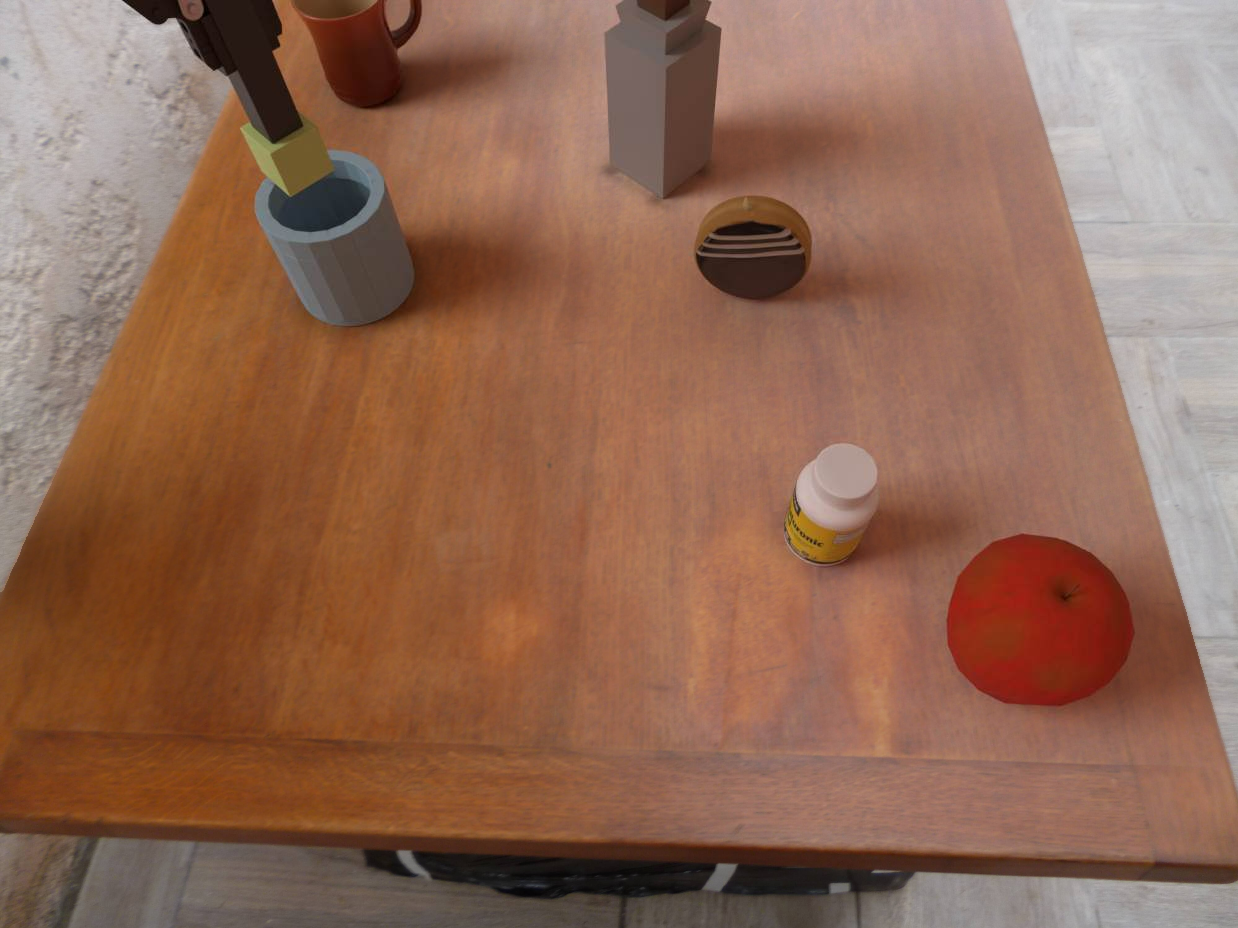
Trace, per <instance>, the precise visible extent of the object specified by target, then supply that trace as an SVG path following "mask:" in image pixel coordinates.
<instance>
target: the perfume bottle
mask: <svg viewBox="0 0 1238 928" xmlns="http://www.w3.org/2000/svg"><path fill="white" fill-rule="evenodd" d="M712 3H713V2H712V1H711V0H622V1H620V2H618V3H617V4H616V5H615V9H616V13H617V16H618V19H619V22H618V23H617V24H615V25H614V26H612V27H611V28H609V29H607V30H606V31H605V32H604V33H603V34H604V55H605V77H606V78H605V79H606V80H605V82H606V101H607V103H606V105H607V126H608V127H607V128H608V146H609V149H608V150H609V165H610V166H611V167H613V168H614V169H615V170H617V171H619V172H620V173H622V174H624V175H625V176H627V177H628V178H630V179H631V180H633V181H634V182H636V183H638V184H639V185H641V186H642V187H644V188H645V189H647V190H648V191H650V192H651V193H653V194H654V195H656V196H658V197H659V198H660V199H664V198H666V197H667V196H669V195H670V194H671V193H672V192H673V191H675V190H676V189H677V188H678V187H680V186H682V184H684V183H685V182H686V181H687V180H688V179H690V178H691V177H693V176H694V175H695V174H696V173H697V172H699V171H700V170H701V169H703V168H704V167H705V166H706V165H708V164H709V163H710V162H711V158H712V147H713V137H714V124H715V113H716V112H715V111H716V100H717V87H718V76H719V65H720V64H719V63H720V54H721V53H720V52H721V40H722V30H723V29H722V27H720V26H719V25H718V24H715V23H713V22H711V21H709V20H707V17H708V14H709V11H710V8H711V5H712Z"/></svg>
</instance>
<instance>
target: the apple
mask: <svg viewBox="0 0 1238 928" xmlns="http://www.w3.org/2000/svg"><path fill="white" fill-rule="evenodd" d="M1135 633H1136V631H1135V625H1134V620H1133V615H1132V610H1131V606H1130V601H1129V598H1128V595H1127V593H1126V591H1125V589H1124V588H1123V586H1122V585H1121V583H1120V582H1119V581H1118V579H1117V577H1116V576H1115V574H1114V572H1113V571H1112V570H1111V569H1110V568H1109V567H1108V566H1106V564H1104V563H1103V562H1102V561H1101V560H1100V559H1099V558H1097V556H1096V555H1094V554H1093V553H1092V552H1091V551H1089V550H1087V549H1085V548H1082V547H1081V546H1078V545H1077V544H1074V543H1072V542H1070V541H1068V540H1065V539H1061V538H1058V537H1054V536H1046V535H1037V534H1029V533H1019V534H1015V535H1012V536H1008V537H1005V538H1001V539H997V540H994V541H992V542H991V543H989V544H988V545H987V546H986V547H984V548H983V549H982V550H980V551H979V552H978V553H977V554H976V555H975V556H973V558H972V559H971V560H970V561H969V563H968V564H966V566H965V567H964V569H963V570H962V571H961V572H960V573H959V574H958V575H957V578H956V581H955V584H954V587H953V591H952V593H951V597H950V601H949V604H948V610H947V617H946V635H947V636H946V637H947V638H946V640H947V646H948V649H949V651H950V654H951V656H952V658H953V661H954V663H955V666H956V668H957V670H958V671H959V673H960V674H962V675H963V676H964V678H966V679H967V680H968V681H969V682H970V683H971V684H972V685H973V687H975V689H976V690H977V691H978V692H981V693H983V694H985V695H987V696H989V697H991V698H993V699H995V700H997V701H999V702H1001V703H1002V704H1005V705H1006V704H1009V705H1023V706H1042V707H1044V706H1045V707H1062V706H1066V705H1068V704H1071V703H1074V702H1077V701H1080V700H1082V699H1086V698H1088V697H1090V696H1093V694H1095V693H1097V692H1098V691H1100V690H1101V689H1103V688H1104V687H1105V686H1107V685H1108V684H1110V683H1111V682H1112V680H1113V679H1114V678H1115V676H1116V675H1117V674H1118V673H1119V671H1120V670H1121V668H1123V666H1124V665H1125V663H1126V662H1127V661H1128V659H1129V656H1130V652H1131V648H1132V644H1133V642H1134V638H1135Z"/></svg>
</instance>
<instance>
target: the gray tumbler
mask: <svg viewBox="0 0 1238 928" xmlns="http://www.w3.org/2000/svg"><path fill="white" fill-rule="evenodd" d="M326 150H327V152H328V155H329V157H330V160H331V162H332V165H333V167H334V171H332V172H331V173H329V174H328V175H326V176H324V177H323V178H321V179H320V180H318V181H316V182H315V183H313V184H311V185H310V186H308V187H307V188H305V189H303V190H302V191H300V192H299V193H297V194H295V195H294V196H292V197H290V196H289V195H288V194H286V193H285V192H284V191H283V190H282V189H281V188H280V187H279V186H277V185H276V184H275V183H274V182H273V181H272V180H271V179H270V178H268V177H267V176H266V177H265V178H264V180H262V182H261V184H260V186H259V188H258V190H257V191H256V194H255V197H254V199H255V200H254V214H255V216H256V218H257V221H258V223H259V225H260V227H261V229H262V231H263V232H264V234H265V236H266V238H267V240H268V242H269V244H270V246H271V248H272V250H273V251H274V254H275V255H276V257H277V259H278V261H279V262H280V265H281V266H282V268H283V270H284V272H285V274H286V276H287V277H288V279H289V281H290V283H291V285H292V287H293V288H294V291H295V292H296V294H297V297H298V298H299V301H300V302H301V303H302V305H303V306H304V308H305V309H306V311H307V312H308V313H309V314H310V315H311V316H312V317H314V318H315V319H317V320H318V321H320V322H323V323H325V324H328V325H332V326H337V327H357V326H358V327H359V326H364V325H367V324H371V323H374V322H377V321H380V320H381V319H384V318H386V317H387V316H389V315H391V314H392V313H393V312H395V311H396V310H397V309H398V308H399V307H400V306H402V305H403V303H405V301H406V300H407V298H408V297H409V295H410V293H411V291H412V289H413V286H414V282H415V274H416V273H415V267H414V265H413V264H414V263H413V260H412V256H411V253H410V250H409V247H408V245H407V242H406V239H405V236H404V233H403V229H402V227H401V224H400V222H399V219H398V215H397V212H396V208H395V206H394V204H393V200H392V197H391V195H390V192H389V189H388V186H387V183H386V179H385V177H384V176H383V173H382V172H381V170H380V169H379V167H378V166H377V164H375V163H374V162H372V161H371V160H370V159H369V158H367V157H366V156H363V155H362V154H358V153H355V152H353V151H348V150H339V149H326Z"/></svg>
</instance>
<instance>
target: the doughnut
mask: <svg viewBox="0 0 1238 928" xmlns="http://www.w3.org/2000/svg"><path fill="white" fill-rule="evenodd" d="M812 245H813V240H812V234H811V229H810V227H809V225H808V223H807V221H806V220H805V218H804V217H803V216H802V215H801V214H800V212H799V211H797V210H796V209H795V208H793V207H792V206H791V205H789V204H788V203H786V202H783V201H781V200H779V199H776V198H773V197H769V196H764V195H741V196H736V197H732V198H729V199H727V200H724V201H722V202H721V203H719V204H717V205H716V206H714V207H713V208H712V209H711V210H710V211H708V213H706V215H705V216H704V217H703V219H702V220H701V222H700V224H699V227H698V230H697V234H696V238H695V241H694V246H693V258H694V262H695V265H696V267H697V269H698V271H699V273H700V274H701V276H702V278H704V279H705V280H706V281H707V282H708V283H709V284H710V285H712V286H713V287H714V288H716V289H718V290H720V291H721V292H723V293H725V294H728V295H731V296H734V297H737V298H742V299H753V300H756V299H757V300H758V299H767V298H768V299H769V298H772V297H777V296H779V295H783V294H784V293H787V292H788V291H790V290H792V289H793V288H795V287H796V286H797V285H798V284H800V283H801V282H802V280H803V279H804V278H805V276H806V275H807V273H808V272H809V269H810V266H811V261H812V247H813V246H812Z"/></svg>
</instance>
